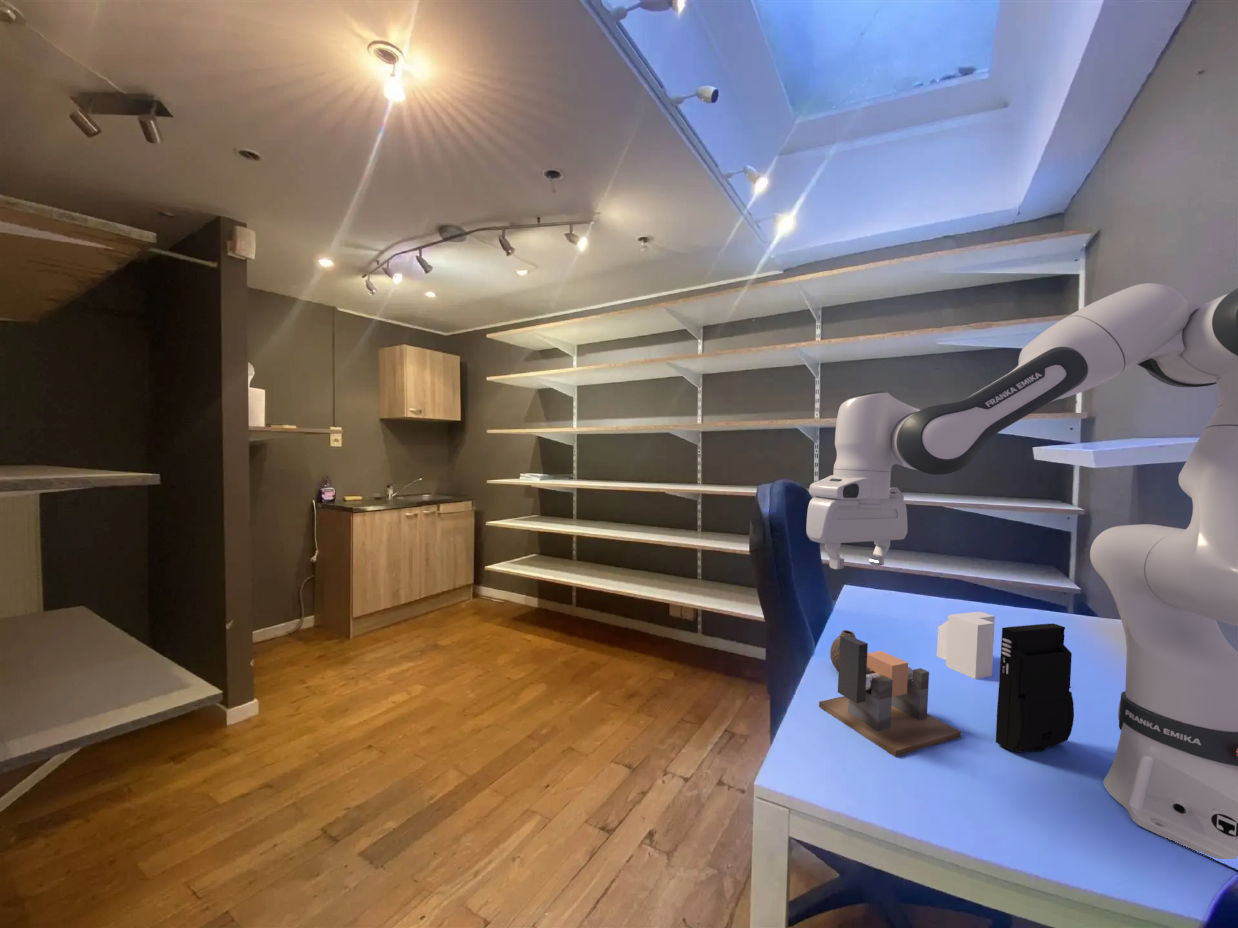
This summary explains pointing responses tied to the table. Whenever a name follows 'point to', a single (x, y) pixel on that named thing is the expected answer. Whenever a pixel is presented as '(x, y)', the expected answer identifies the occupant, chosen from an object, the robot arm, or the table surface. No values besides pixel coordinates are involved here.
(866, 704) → the shaft stand
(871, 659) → the block
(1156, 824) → the robot arm
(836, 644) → the vase
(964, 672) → the corner bracket
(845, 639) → the shaft
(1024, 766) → the table surface
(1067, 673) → the handheld gaming console
